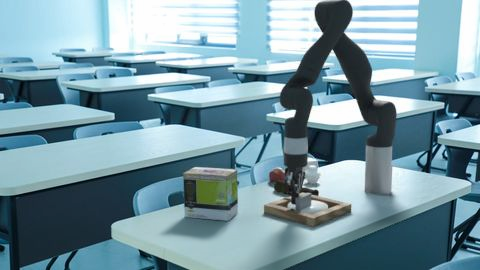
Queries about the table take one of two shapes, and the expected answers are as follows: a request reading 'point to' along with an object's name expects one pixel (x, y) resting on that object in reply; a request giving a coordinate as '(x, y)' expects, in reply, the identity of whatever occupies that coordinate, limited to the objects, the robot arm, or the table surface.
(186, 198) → the tea box
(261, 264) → the table surface
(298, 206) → the dial
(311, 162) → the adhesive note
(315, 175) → the white fluted cup
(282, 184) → the hand tool
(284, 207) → the wooden frame
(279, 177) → the teeth model
